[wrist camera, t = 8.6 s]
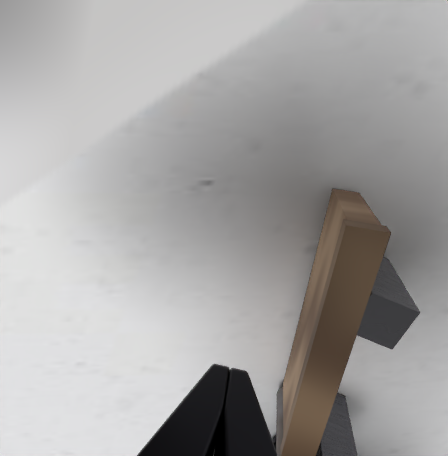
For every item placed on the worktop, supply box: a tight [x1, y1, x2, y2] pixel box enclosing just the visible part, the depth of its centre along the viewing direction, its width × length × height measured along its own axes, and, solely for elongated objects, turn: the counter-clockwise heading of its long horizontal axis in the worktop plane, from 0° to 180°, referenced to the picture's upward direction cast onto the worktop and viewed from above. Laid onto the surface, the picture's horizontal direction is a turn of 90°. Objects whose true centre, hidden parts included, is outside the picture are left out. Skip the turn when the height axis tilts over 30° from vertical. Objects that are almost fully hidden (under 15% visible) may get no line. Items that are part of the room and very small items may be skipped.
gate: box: [276, 189, 391, 456], centre depth 17 cm, size 14×2×5 cm, turn 173°
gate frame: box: [316, 257, 420, 456], centre depth 18 cm, size 2×12×6 cm, turn 174°
